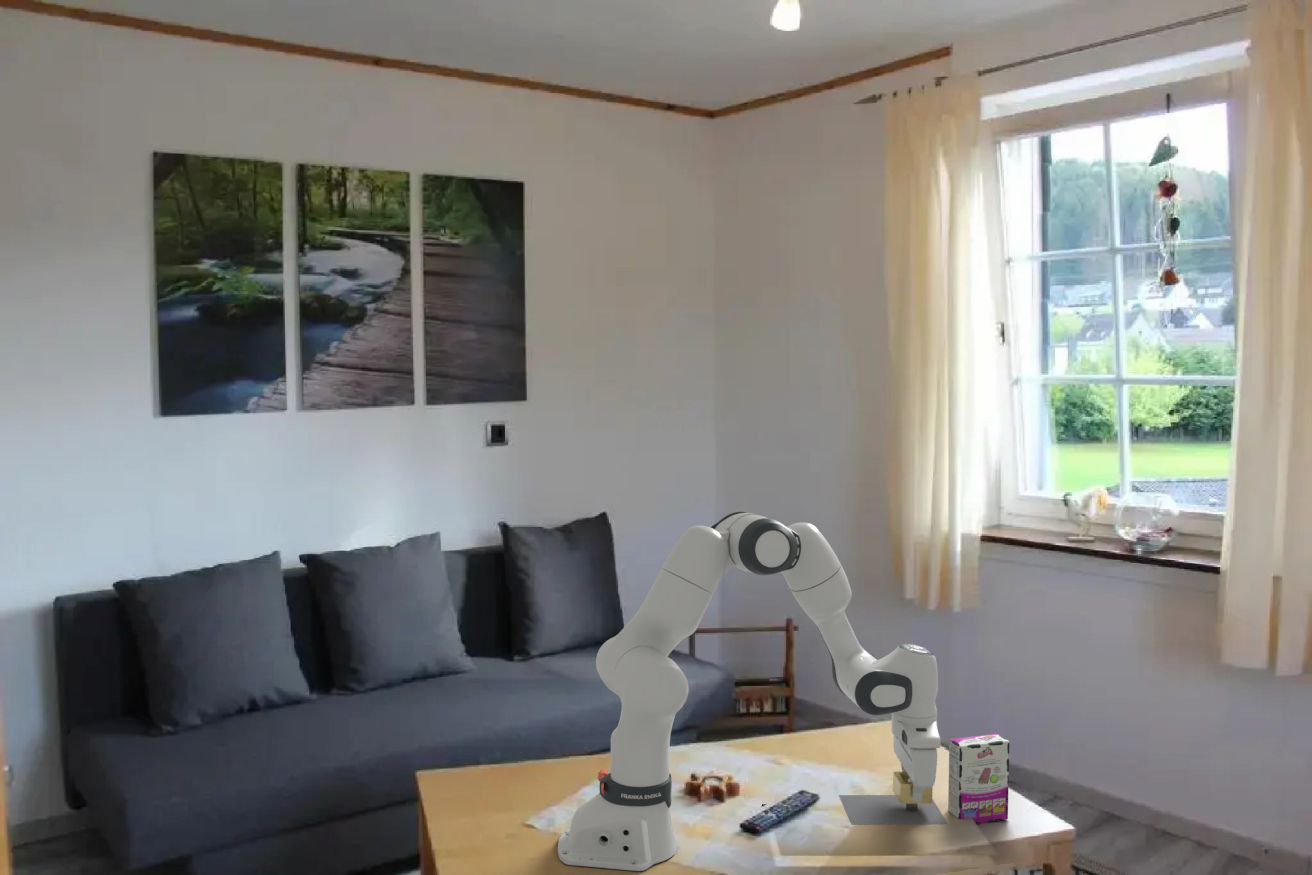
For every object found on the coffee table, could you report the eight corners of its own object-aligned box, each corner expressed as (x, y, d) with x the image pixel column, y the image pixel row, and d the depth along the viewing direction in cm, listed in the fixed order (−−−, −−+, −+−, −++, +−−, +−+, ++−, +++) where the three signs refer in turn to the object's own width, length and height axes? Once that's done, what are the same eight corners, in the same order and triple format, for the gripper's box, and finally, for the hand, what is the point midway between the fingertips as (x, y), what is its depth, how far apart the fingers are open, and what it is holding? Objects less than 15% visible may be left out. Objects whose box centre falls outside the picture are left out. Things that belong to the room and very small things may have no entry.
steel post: (907, 811, 231) (908, 780, 230) (904, 806, 233) (905, 775, 233) (919, 811, 231) (920, 780, 230) (916, 806, 233) (917, 775, 233)
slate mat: (851, 831, 225) (851, 824, 225) (838, 801, 239) (838, 795, 239) (948, 831, 225) (948, 823, 225) (929, 801, 239) (929, 794, 239)
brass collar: (900, 803, 229) (900, 784, 228) (892, 790, 235) (893, 771, 235) (932, 803, 229) (932, 784, 228) (923, 790, 235) (924, 771, 235)
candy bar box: (994, 810, 235) (997, 732, 234) (1008, 820, 231) (1011, 741, 229) (945, 816, 232) (948, 737, 231) (958, 826, 228) (961, 746, 226)
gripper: (886, 707, 241) (885, 771, 242) (910, 743, 220) (908, 812, 222) (916, 707, 241) (915, 771, 242) (943, 743, 220) (940, 812, 222)
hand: (912, 791), depth 232 cm, fingers closed on brass collar, 6 cm apart
